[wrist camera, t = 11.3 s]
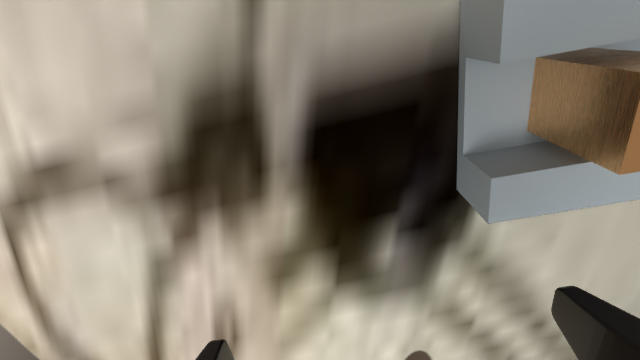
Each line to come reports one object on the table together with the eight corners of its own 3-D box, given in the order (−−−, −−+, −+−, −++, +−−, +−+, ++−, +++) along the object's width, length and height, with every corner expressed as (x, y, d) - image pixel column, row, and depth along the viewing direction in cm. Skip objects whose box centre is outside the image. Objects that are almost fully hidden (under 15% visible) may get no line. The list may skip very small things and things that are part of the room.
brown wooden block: (576, 122, 18) (690, 163, 13) (527, 130, 18) (619, 175, 13) (590, 47, 16) (730, 58, 11) (535, 57, 16) (646, 73, 11)
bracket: (614, 163, 20) (680, 192, 17) (456, 189, 21) (488, 223, 17) (666, -42, 15) (775, -63, 12) (460, -3, 16) (505, -10, 12)
